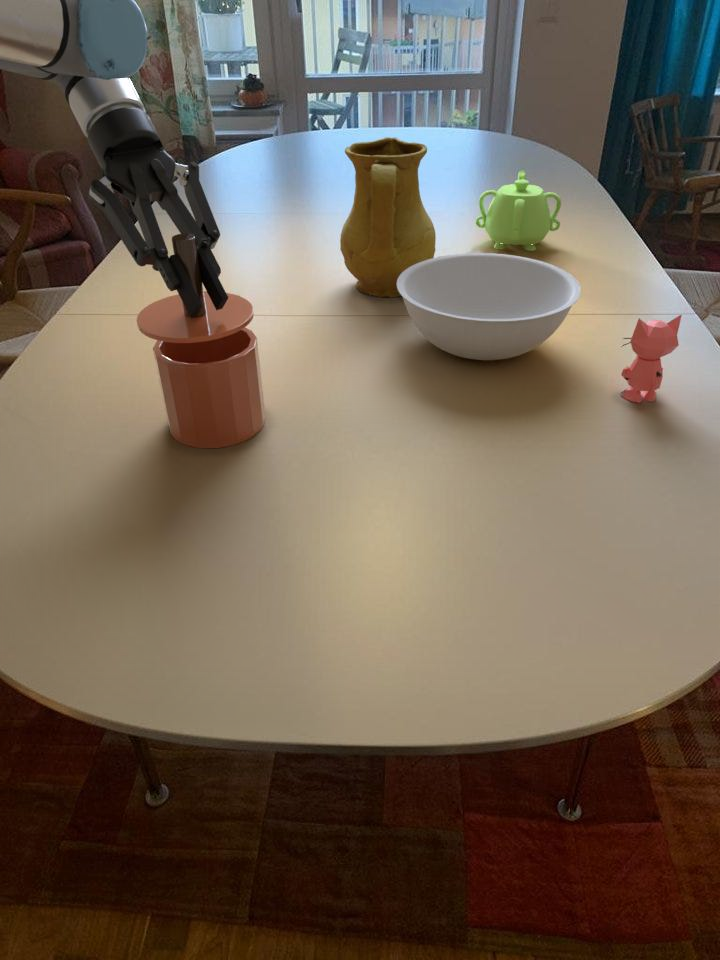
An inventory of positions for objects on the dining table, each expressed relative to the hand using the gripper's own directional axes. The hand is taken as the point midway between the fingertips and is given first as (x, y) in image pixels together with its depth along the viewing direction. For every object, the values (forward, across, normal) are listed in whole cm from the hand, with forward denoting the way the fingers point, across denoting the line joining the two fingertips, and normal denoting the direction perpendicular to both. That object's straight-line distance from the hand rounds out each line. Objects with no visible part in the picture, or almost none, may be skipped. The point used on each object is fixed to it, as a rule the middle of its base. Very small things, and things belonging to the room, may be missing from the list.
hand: (209, 307), depth 83 cm
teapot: (-7, -87, -34) cm, 94 cm away
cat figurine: (+32, -50, +6) cm, 60 cm away
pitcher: (-6, -50, -33) cm, 60 cm away
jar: (+9, -1, -17) cm, 19 cm away
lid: (-1, 0, -4) cm, 5 cm away
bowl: (+14, -45, -13) cm, 49 cm away
